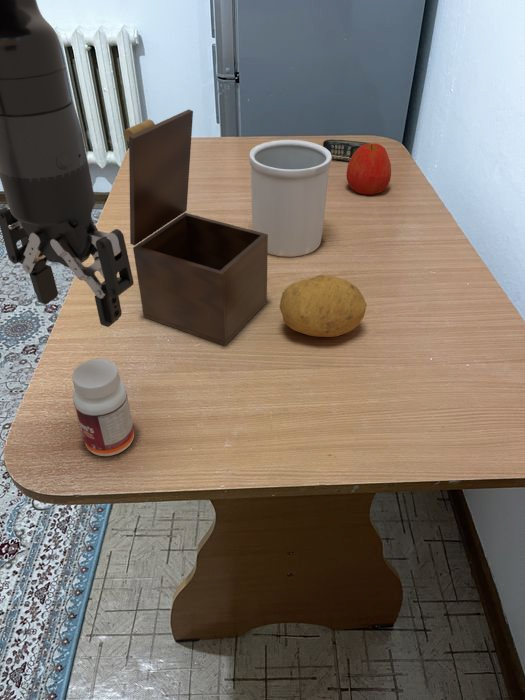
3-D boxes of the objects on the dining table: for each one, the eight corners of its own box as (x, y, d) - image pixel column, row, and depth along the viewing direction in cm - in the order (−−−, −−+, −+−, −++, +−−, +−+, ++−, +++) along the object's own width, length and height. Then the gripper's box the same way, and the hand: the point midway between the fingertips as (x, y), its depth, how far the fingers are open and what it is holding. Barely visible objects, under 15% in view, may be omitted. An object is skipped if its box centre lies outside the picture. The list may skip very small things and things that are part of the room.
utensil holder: (329, 258, 107) (337, 168, 96) (251, 260, 107) (250, 169, 96) (319, 223, 119) (325, 139, 108) (248, 224, 118) (248, 139, 107)
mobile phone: (322, 141, 144) (381, 145, 141) (324, 137, 146) (383, 141, 143) (321, 160, 147) (379, 165, 144) (323, 156, 150) (380, 161, 146)
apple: (364, 176, 138) (369, 133, 132) (398, 189, 133) (405, 144, 126) (336, 188, 133) (340, 143, 126) (370, 202, 127) (376, 155, 121)
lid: (193, 110, 82) (163, 99, 83) (133, 138, 73) (101, 125, 74) (186, 210, 93) (160, 199, 94) (134, 245, 84) (106, 232, 85)
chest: (267, 302, 96) (268, 234, 88) (225, 346, 86) (221, 274, 78) (190, 278, 101) (184, 212, 93) (143, 317, 92) (132, 247, 84)
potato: (373, 300, 80) (364, 261, 87) (279, 304, 80) (277, 265, 87) (368, 348, 87) (360, 308, 93) (281, 351, 87) (279, 311, 94)
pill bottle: (76, 437, 72) (57, 370, 65) (119, 414, 75) (105, 348, 68) (100, 466, 68) (82, 399, 61) (144, 441, 71) (132, 374, 64)
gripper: (134, 159, 49) (155, 311, 59) (16, 132, 54) (54, 276, 64) (73, 190, 44) (108, 351, 54) (-51, 157, 49) (2, 310, 59)
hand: (79, 310), depth 59 cm, fingers open, 8 cm apart
